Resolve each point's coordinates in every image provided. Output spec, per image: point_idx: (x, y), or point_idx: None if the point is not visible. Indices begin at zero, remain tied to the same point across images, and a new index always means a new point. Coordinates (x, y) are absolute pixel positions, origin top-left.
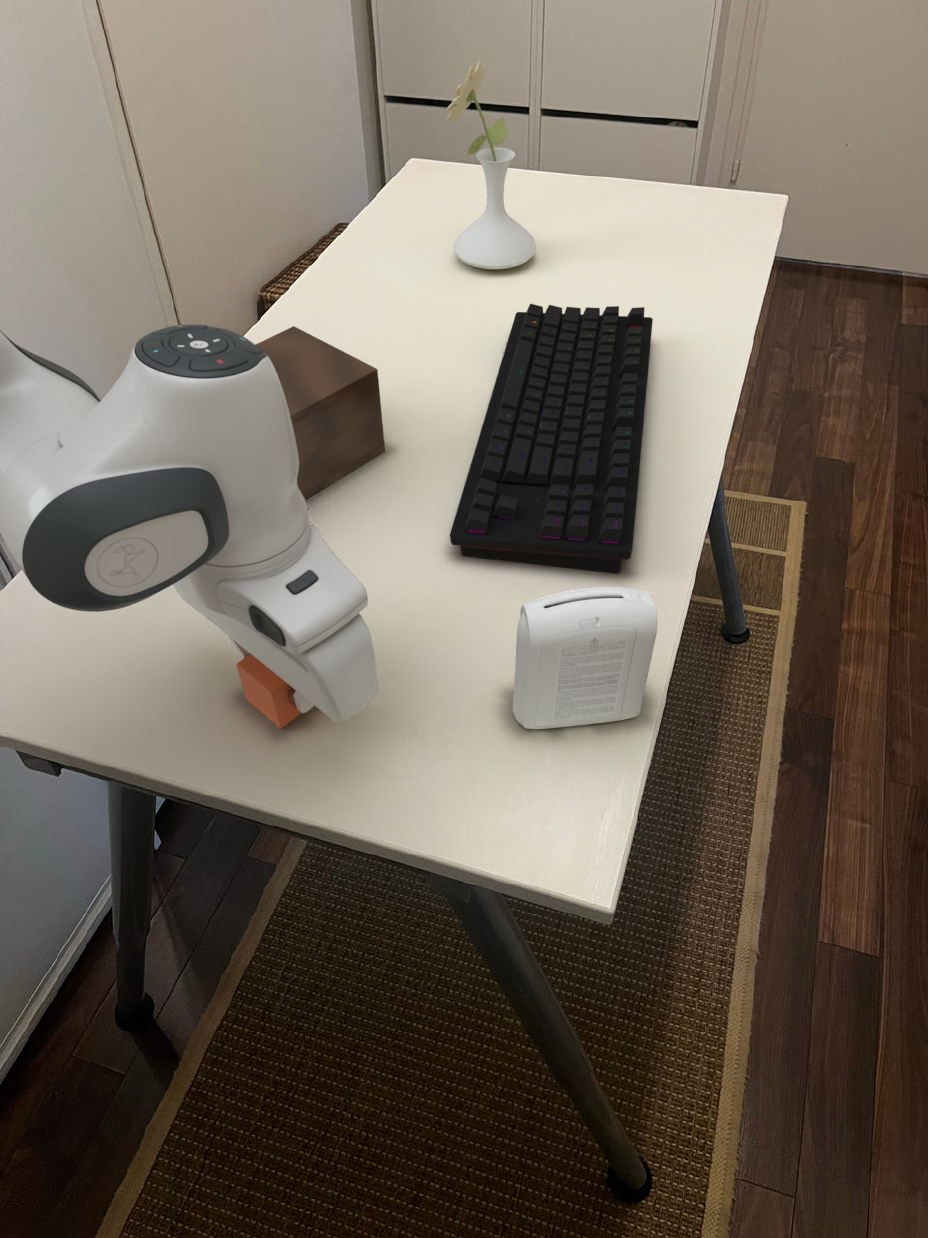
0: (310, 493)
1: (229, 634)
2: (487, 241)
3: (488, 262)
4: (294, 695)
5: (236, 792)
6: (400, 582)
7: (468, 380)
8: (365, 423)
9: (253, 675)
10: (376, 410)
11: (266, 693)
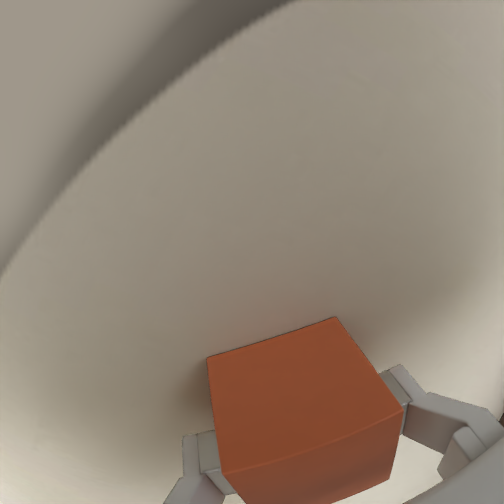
0: (501, 424)
1: (472, 495)
2: None
3: None
4: (194, 488)
5: (67, 201)
6: (355, 496)
7: None
8: None
9: (328, 447)
10: None
11: (249, 447)
